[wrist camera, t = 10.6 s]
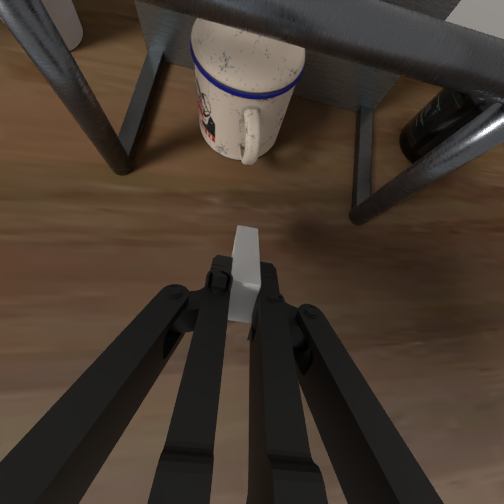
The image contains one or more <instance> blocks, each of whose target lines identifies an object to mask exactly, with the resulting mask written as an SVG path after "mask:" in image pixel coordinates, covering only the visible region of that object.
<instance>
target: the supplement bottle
mask: <svg viewBox="0 0 504 504" xmlns="http://www.w3.org/2000/svg"><path fill="white" fill-rule="evenodd" d="M495 103H496V102H493V101H489V100H486V99H482V98H479V97H475V96H471V95H468V94H464V93H461V92H457V91H454V90H450V89H447V88H443V89H442V90H441V91H440V92H439V93H438V94H437V95H436V96H435V97H434V98H433V99H432V100H431V101H430V102H429V103H428V104H427V105H426V106H425V107H424V108H423V109H422V110H420V111H419V112H418V113H417V114H416V115H415V116H414V117H413V118H412V119H411V120H410V121H409V122H408V123H407V124H406V125H405V127H404V128H403V129H402V131H401V134H400V147H401V150H402V152H403V154H404V155H405V157H406V158H407V159H408V160H409V161H410V162H411V163H412V164H414V163H415V162H417V161H418V160H419V159H421V158H422V157H423V156H425V155H426V154H427V153H429V152H430V151H431V150H433V149H434V148H435V147H437V146H438V145H440V144H441V143H442V142H444V141H445V140H446V139H448V138H449V137H450V136H452V135H453V134H454V133H456V132H457V131H458V130H460V129H461V128H462V127H464V126H465V125H467V124H468V123H469V122H471V121H472V120H473V119H475V118H476V117H477V116H479V115H480V114H481V113H483V112H484V111H485V110H487V109H488V108H489V107H491V106H492V105H494V104H495Z"/></svg>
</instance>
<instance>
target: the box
mask: <svg viewBox="0 0 504 504" xmlns="http://www.w3.org/2000/svg"><path fill="white" fill-rule="evenodd" d="M134 2H135V6H136V10H137V14H138V17H139V21H140V25H141V29H142V33H143V37H144V40H145V44H146V48H147V52H148V53H147V56H146V59H145V62H144V65H143V67H142V70H141V73H140V76H139V79H138V82H137V85H136V87H135V90H134V93H133V96H132V99H131V102H130V104H129V107H128V110H127V113H126V116H125V119H124V122H123V124H122V127H121V130H120V133H119V136H117V135H116V133H115V131H114V129H113V127H112V126H111V124H110V122H109V120H108V118H107V117H106V115H105V113H104V111H103V110H102V108H101V106H100V104H99V102H98V101H97V99H96V97H95V95H94V94H93V92H92V90H91V88H90V86H89V85H88V83H87V81H86V79H85V78H84V76H83V74H82V72H81V70H80V69H79V67H78V65H77V63H76V61H75V60H74V58H73V56H72V54H71V53H70V51H69V49H68V47H67V45H66V44H65V42H64V40H63V38H62V37H61V35H60V33H59V31H58V29H57V28H56V26H55V24H54V22H53V21H52V19H51V17H50V15H49V13H48V12H47V10H46V8H45V6H44V4H43V3H42V1H41V0H0V18H1V19H2V20H3V22H4V23H5V25H6V26H7V27H8V29H9V30H10V31H11V33H12V34H13V35H14V37H15V38H16V40H17V41H18V42H19V44H20V45H21V46H22V48H23V49H24V50H25V52H26V53H27V55H28V56H29V57H30V59H31V60H32V61H33V63H34V64H35V65H36V67H37V68H38V70H39V71H40V72H41V74H42V75H43V76H44V78H45V79H46V80H47V82H48V83H49V85H50V86H51V87H52V89H53V90H54V91H55V93H56V94H57V95H58V97H59V98H60V100H61V101H62V102H63V104H64V105H65V106H66V108H67V109H68V110H69V112H70V113H71V114H72V116H73V117H74V119H75V120H76V121H77V123H78V124H79V125H80V127H81V128H82V129H83V131H84V132H85V134H86V135H87V136H88V138H89V139H90V140H91V142H92V143H93V144H94V146H95V147H96V149H97V150H98V151H99V153H100V154H101V155H102V157H103V158H104V159H105V161H106V162H107V164H108V165H109V166H110V168H111V169H112V170H113V172H114V173H115V174H117V175H122V176H123V175H127V174H129V173H130V172H131V171H132V170H133V163H132V161H133V158H134V155H135V152H136V149H137V146H138V143H139V140H140V136H141V133H142V130H143V127H144V124H145V121H146V118H147V115H148V112H149V109H150V106H151V102H152V99H153V96H154V93H155V90H156V87H157V84H158V81H159V78H160V75H161V71H162V68H163V65H164V62H168V63H172V64H176V65H179V66H183V67H187V68H191V69H195V63H194V61H193V58H192V55H191V51H190V36H191V32H192V28H193V25H194V23H195V21H196V19H197V18H200V19H203V20H207V21H210V22H214V23H217V24H221V25H225V26H228V27H232V28H235V29H239V30H242V31H246V32H249V33H253V34H256V35H260V36H263V37H267V38H270V39H274V40H277V41H281V42H284V43H288V44H292V45H295V46H299V47H302V48H305V67H304V71H303V74H302V76H301V78H300V80H299V81H298V82H297V84H296V85H295V87H294V90H293V93H292V95H294V96H298V97H302V98H306V99H310V100H313V101H317V102H321V103H325V104H329V105H333V106H336V107H340V108H344V109H348V110H352V111H355V112H357V117H356V135H355V154H354V172H353V191H352V209H351V211H350V213H349V218H350V220H351V222H352V223H354V224H355V225H362V224H364V223H366V222H367V221H369V220H371V219H373V218H374V217H376V216H378V215H379V214H381V213H383V212H384V211H386V210H388V209H390V208H391V207H393V206H395V205H396V204H398V203H400V202H402V201H403V200H405V199H407V198H408V197H410V196H412V195H413V194H415V193H417V192H419V191H420V190H422V189H424V188H425V187H427V186H429V185H431V184H432V183H434V182H436V181H437V180H439V179H441V178H443V177H444V176H446V175H448V174H449V173H451V172H453V171H454V170H456V169H458V168H460V167H461V166H463V165H465V164H466V163H468V162H470V161H472V160H473V159H475V158H477V157H478V156H480V155H482V154H483V153H485V152H487V151H489V150H490V149H492V148H494V147H495V146H497V145H499V144H501V143H502V142H504V39H501V38H497V37H495V36H492V35H488V34H485V33H482V32H479V31H476V30H473V29H469V28H466V27H463V26H460V25H457V24H453V23H450V22H447V21H445V20H446V18H447V17H448V16H449V14H450V13H451V12H452V11H453V10H454V8H455V7H456V6H457V4H458V3H459V2H460V0H134ZM401 76H404V77H408V78H412V79H415V80H419V81H422V82H426V83H429V84H433V85H436V86H440V87H443V88H447V89H450V90H454V91H457V92H461V93H464V94H468V95H471V96H475V97H479V98H482V99H486V100H489V101H493V102H496V103H495V104H494V105H492V106H491V107H489V108H488V109H487V110H485V111H484V112H483V113H481V114H480V115H479V116H477V117H476V118H475V119H473V120H472V121H471V122H469V123H468V124H467V125H465V126H464V127H462V128H461V129H460V130H458V131H457V132H456V133H454V134H453V135H452V136H450V137H449V138H448V139H446V140H445V141H444V142H442V143H441V144H440V145H438V146H437V147H435V148H434V149H433V150H431V151H430V152H429V153H427V154H426V155H425V156H423V157H422V158H421V159H419V160H418V161H417V162H415V163H414V164H413V165H411V166H410V167H408V168H407V169H406V170H404V171H403V172H402V173H400V174H399V175H398V176H396V177H395V178H394V179H392V180H391V181H390V182H388V183H387V184H386V185H384V186H383V187H381V188H380V189H379V190H377V191H376V192H375V193H373V194H372V195H371V196H370V183H371V153H372V123H373V111H374V109H375V108H376V107H377V106H378V104H379V103H380V102H381V101H382V99H383V98H384V97H385V95H386V94H387V93H388V92H389V90H390V89H391V88H392V87H393V85H394V84H395V83H396V82H397V80H398V79H399V78H400V77H401Z"/></svg>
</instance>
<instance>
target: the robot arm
mask: <svg viewBox="0 0 504 504" xmlns="http://www.w3.org/2000/svg"><path fill="white" fill-rule="evenodd" d="M251 318H252V325H251V328H250V332H249V335H248V339H247V340H249V339H250V371H249V472H248V495H247V501H246V504H328V501H327V496H326V490H325V485H324V481H323V477H322V473H321V471H320V469H319V467H318V466H317V465H316V464H315V463H314V462H313V460H312V458H311V453H310V448H309V442H308V436H307V430H306V424H305V418H304V412H303V407H302V401H301V395H300V389H299V383H300V386H301V388H302V391H303V393H304V396H305V398H306V401H307V403H308V406H309V408H310V411H311V413H312V416H313V418H314V421H315V423H316V426H317V428H318V431H319V433H320V436H321V438H322V441H323V443H324V446H325V448H326V451H327V453H328V456H329V458H330V461H331V463H332V465H333V468H334V470H335V473H336V475H337V478H338V480H339V483H340V485H341V488H342V490H343V493H344V495H345V498H346V500H347V503H348V504H444V503H443V502H442V500H441V499H440V497H439V495H438V494H437V492H436V491H435V489H434V488H433V486H432V484H431V483H430V481H429V480H428V478H427V477H426V475H425V473H424V472H423V470H422V469H421V467H420V466H419V464H418V462H417V461H416V459H415V458H414V456H413V455H412V453H411V451H410V450H409V448H408V447H407V445H406V443H405V442H404V440H403V439H402V437H401V436H400V434H399V432H398V431H397V429H396V428H395V426H394V425H393V423H392V421H391V420H390V418H389V417H388V415H387V414H386V412H385V410H384V409H383V407H382V406H381V404H380V403H379V401H378V399H377V398H376V396H375V395H374V393H373V392H372V390H371V388H370V387H369V385H368V384H367V382H366V380H365V379H364V377H363V376H362V374H361V373H360V371H359V369H358V368H357V366H356V365H355V363H354V362H353V360H352V358H351V357H350V355H349V354H348V352H347V351H346V349H345V347H344V346H343V344H342V343H341V341H340V340H339V338H338V336H337V335H336V333H335V332H334V330H333V329H332V327H331V325H330V324H329V322H328V321H327V319H326V317H325V316H324V314H323V313H322V312H321V310H320V309H318V308H317V307H315V306H313V305H310V304H303V305H301V306H300V307H299V308H296V307H294V306H291V305H289V304H287V303H286V302H285V300H284V298H283V296H282V295H281V294H280V292H279V286H278V279H277V273H276V268H275V267H274V266H273V264H271V263H265V262H260V258H259V240H258V229H257V228H251V227H246V226H241V225H238V226H237V231H236V236H235V242H234V247H233V252H232V257H227V256H221V255H217V256H216V257H215V258H213V262H212V265H211V269H210V271H209V272H208V273H207V276H206V283H205V287H204V288H202V289H200V290H197V291H188V289H187V288H186V287H184V286H182V285H178V284H172V285H168V286H166V287H164V288H163V289H162V290H161V291H160V292H159V293H158V294H157V295H156V296H155V297H154V298H153V299H152V300H151V301H150V303H149V304H148V305H147V306H146V307H145V308H144V309H143V310H142V311H141V312H140V313H139V314H138V315H137V316H136V318H135V319H134V320H133V321H132V322H131V323H130V324H129V325H128V326H127V327H126V328H125V329H124V330H123V331H122V332H121V334H120V335H119V336H118V337H117V338H116V339H115V340H114V341H113V342H112V343H111V344H110V345H109V346H108V347H107V349H106V350H105V351H104V352H103V353H102V354H101V355H100V356H99V357H98V358H97V359H96V360H95V361H94V362H93V364H92V365H91V366H90V367H89V368H88V369H87V370H86V371H85V372H84V373H83V374H82V375H81V376H80V377H79V379H78V380H77V381H76V382H75V383H74V384H73V385H72V386H71V387H70V388H69V389H68V390H67V391H66V392H65V393H64V395H63V396H62V397H61V398H60V399H59V400H58V401H57V402H56V403H55V404H54V405H53V406H52V407H51V408H50V410H49V411H48V412H47V413H46V414H45V415H44V416H43V417H42V418H41V419H40V420H39V421H38V422H37V423H36V425H35V426H34V427H33V428H32V429H31V430H30V431H29V432H28V433H27V434H26V435H25V436H24V437H23V438H22V440H21V441H20V442H19V443H18V444H17V445H16V446H15V447H14V448H13V449H12V450H11V451H10V452H9V453H8V455H7V456H6V457H5V458H4V459H3V460H2V461H1V462H0V504H79V502H80V501H81V499H82V497H83V496H84V494H85V493H86V491H87V489H88V488H89V486H90V485H91V483H92V481H93V480H94V478H95V477H96V475H97V473H98V472H99V470H100V469H101V467H102V465H103V464H104V462H105V461H106V459H107V457H108V456H109V454H110V453H111V451H112V449H113V448H114V446H115V445H116V443H117V442H118V440H119V438H120V437H121V435H122V434H123V432H124V430H125V429H126V427H127V426H128V424H129V422H130V421H131V419H132V418H133V416H134V414H135V413H136V411H137V410H138V408H139V406H140V405H141V403H142V402H143V400H144V398H145V397H146V395H147V394H148V392H149V390H150V389H151V387H152V386H153V384H154V382H155V381H156V379H157V378H158V376H159V374H160V373H161V371H162V370H163V368H164V366H165V365H166V363H167V362H168V360H169V358H170V357H171V355H172V354H173V352H174V350H175V349H176V347H177V346H178V344H179V342H180V341H181V339H182V338H183V336H184V334H185V332H191V331H194V332H193V336H192V340H191V344H190V348H189V352H188V356H187V360H186V364H185V368H184V372H183V375H182V379H181V383H180V387H179V391H178V395H177V399H176V403H175V407H174V411H173V415H172V419H171V423H170V426H169V430H168V434H167V438H166V442H165V446H164V449H163V451H162V453H161V456H160V459H159V462H158V466H157V469H156V473H155V477H154V481H153V484H152V488H151V492H150V496H149V500H148V504H209V503H210V493H211V484H212V474H213V461H214V455H213V450H214V440H215V431H216V421H217V412H218V403H219V394H220V385H221V375H222V366H223V357H224V348H225V339H226V329H227V320H232V321H239V322H246V323H250V322H251ZM298 381H299V383H298Z"/></svg>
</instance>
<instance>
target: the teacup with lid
mask: <svg viewBox="0 0 504 504" xmlns="http://www.w3.org/2000/svg"><path fill="white" fill-rule="evenodd" d="M190 51H191V55H192V58H193V61H194V63H195V73H196V85H197V97H198V109H199V121H200V129H201V132H202V135H203V137H204V139H205V140H206V142H207V143H208V144H209V145H210V147H211V148H213V149H214V150H215V151H216V152H218V153H219V154H221V155H223V156H225V157H228V158H231V159H236V160H241V161H242V163H243V164H245V165H253V164H254V163H255V162H256V161H257V159H258V157H259V156H261V155H263V154H265V153H266V152H267V151H268V150H270V148H271V147H272V146H273V144H274V143H275V141H276V138H277V135H278V132H279V130H280V127H281V124H282V121H283V118H284V116H285V113H286V110H287V107H288V104H289V101H290V99H291V96H292V93H293V90H294V87H295V85H296V84H297V82H298V81H299V80H300V78H301V76H302V74H303V71H304V67H305V48H302V47H299V46H295V45H292V44H288V43H284V42H281V41H277V40H274V39H270V38H267V37H263V36H260V35H256V34H253V33H249V32H246V31H242V30H239V29H235V28H232V27H228V26H225V25H221V24H217V23H214V22H210V21H207V20H203V19H200V18H197V19H196V21H195V23H194V25H193V28H192V32H191V36H190Z"/></svg>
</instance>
